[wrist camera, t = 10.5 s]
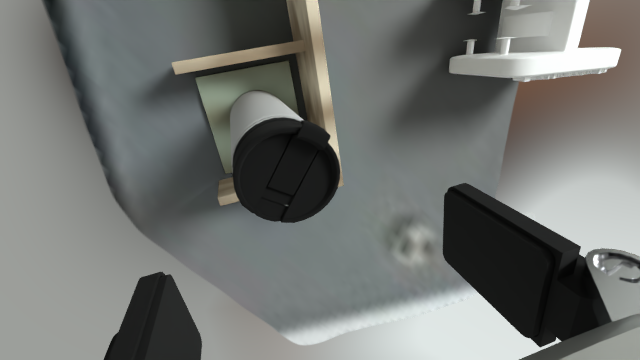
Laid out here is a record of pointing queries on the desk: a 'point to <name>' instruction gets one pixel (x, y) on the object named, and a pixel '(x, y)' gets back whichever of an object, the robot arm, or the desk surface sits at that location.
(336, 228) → the desk surface
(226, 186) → the desk dock
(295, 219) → the travel mug
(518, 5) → the cable organizer
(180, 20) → the desk surface
